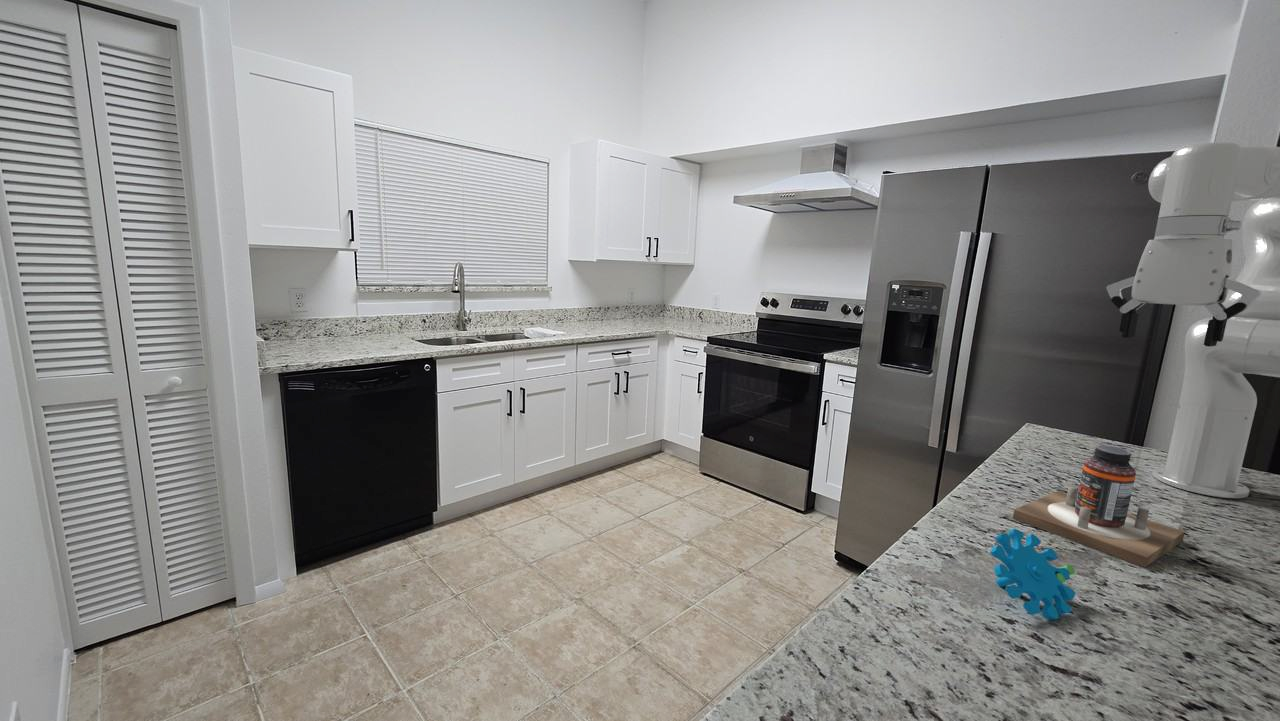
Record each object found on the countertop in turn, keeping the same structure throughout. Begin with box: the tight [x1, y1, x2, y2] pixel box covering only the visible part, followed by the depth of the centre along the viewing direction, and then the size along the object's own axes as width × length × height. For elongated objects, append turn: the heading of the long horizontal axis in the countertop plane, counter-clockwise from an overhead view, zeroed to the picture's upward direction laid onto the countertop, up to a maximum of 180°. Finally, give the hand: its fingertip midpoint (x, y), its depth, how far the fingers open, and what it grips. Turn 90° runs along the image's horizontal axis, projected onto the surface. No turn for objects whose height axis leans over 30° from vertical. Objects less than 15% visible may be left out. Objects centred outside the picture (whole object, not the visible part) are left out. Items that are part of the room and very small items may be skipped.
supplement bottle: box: [1075, 444, 1137, 527], centre depth 81 cm, size 6×6×11 cm
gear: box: [989, 528, 1076, 621], centre depth 64 cm, size 11×6×10 cm
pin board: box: [1012, 486, 1186, 569], centre depth 82 cm, size 15×16×4 cm
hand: (1166, 341), depth 85 cm, fingers open, 9 cm apart
